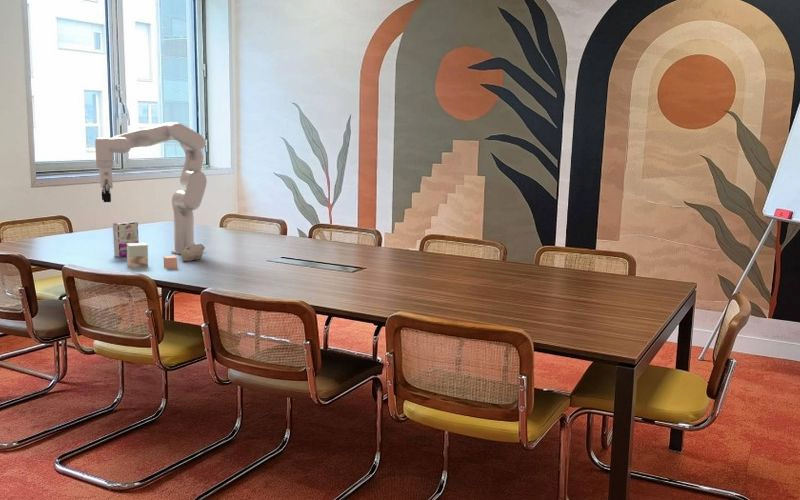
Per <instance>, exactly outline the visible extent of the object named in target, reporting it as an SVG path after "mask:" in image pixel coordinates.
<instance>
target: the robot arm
mask: <svg viewBox="0 0 800 500" xmlns="http://www.w3.org/2000/svg"><path fill="white" fill-rule="evenodd" d="M169 141H177V142H179V144H180V147H181V148H182V150H183V151H184V154H185V161H184V164H183V168H182V171H181V175H180V178H179V183H180V185H181V186H182V187H184V188H185V189H186V190H185V189H179V190H177V191H175V192H174V193H173V195H172V197H171V205H172V209H173V235H174V236H173V238H174V249H172V250H171V253H172V254H174V255H175V254H176V255H181V252H182V251H183V250H184V248H185V247H187V246H189V245H196V244H197V243H195V235H194V234H195V233H194V232H195V230H194V229H195V228H194V222H195V221H194V211H196V210H197V209H198V208H199V207H200V206H201V205H202V201H203V198H204V194H205V191H206V188H207V183H208V182H207V181H208V180H207V176H206V175H205V173H204V172H203V171H202V166H203V162H204V156H203V151H202V150H203V149H204V148H205V146H206V140H205V138H204V137H203V135H202V134H200V133H198V132H196V131H195V130H193V129H191V128H189V127H188V126H186V125H184V124H182V123H180V122H172V121H171V122H164V123H161V124H157V125H153V126H150V127H146V128H142V129H139V130H134V131H131V132H130V131H129V132H126V133H123V134H118V135H115V136H112V137H97V138H96V139H95V141H94V143H95V144H94V146H95V164H96V165H95V167H96V168H97V169H99V170H98V173H99V184H100V188H101V200H102V201H103V203H111V202H112V195H111V190H113V189H114V187H113V186H114V185H113V172H112V169H113V168H114V154H122V155H123V154H127V153H129V152H130V151H131V149H132V148H141V147H143V148H144V147H146V148H147V147H152V146H155V145H159V144H162V143H165V142H169ZM201 244H202V245H203V246H204V244H203V243H201ZM204 247H205V246H204Z"/></svg>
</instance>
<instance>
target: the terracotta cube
mask: <svg viewBox="0 0 800 500" xmlns="http://www.w3.org/2000/svg"><path fill="white" fill-rule="evenodd" d="M163 268H164V269H166V268H171V269H178V257H177V256H176V255H166V256H165V255H163Z"/></svg>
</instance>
